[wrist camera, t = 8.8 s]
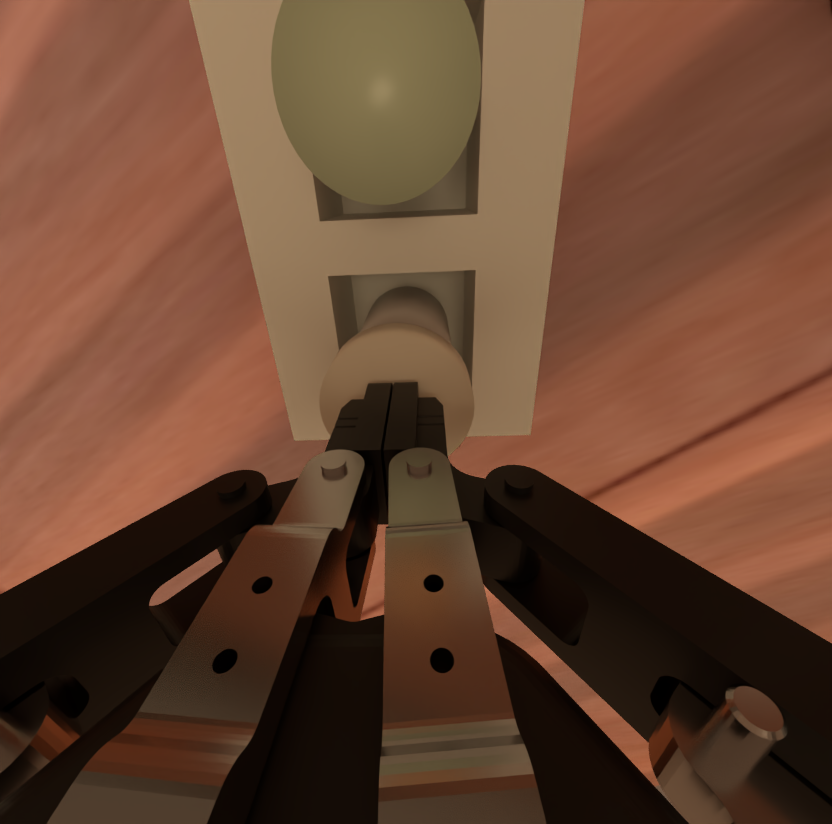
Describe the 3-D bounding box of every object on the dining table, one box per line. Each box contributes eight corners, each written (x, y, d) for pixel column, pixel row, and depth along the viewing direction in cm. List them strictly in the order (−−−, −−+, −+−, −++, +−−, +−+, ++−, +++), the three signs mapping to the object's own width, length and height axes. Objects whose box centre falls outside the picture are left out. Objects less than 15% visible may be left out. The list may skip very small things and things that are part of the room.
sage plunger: (457, 51, 15) (486, -77, 8) (455, 195, 17) (477, 200, 10) (331, 58, 15) (247, -59, 8) (348, 200, 17) (294, 209, 10)
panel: (574, -396, 12) (692, -863, 7) (508, 383, 25) (530, 434, 19) (185, -355, 12) (8, -756, 7) (321, 388, 25) (294, 440, 20)
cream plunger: (456, 275, 18) (477, 332, 11) (455, 371, 20) (472, 470, 13) (353, 279, 18) (306, 338, 11) (364, 373, 20) (331, 472, 13)
